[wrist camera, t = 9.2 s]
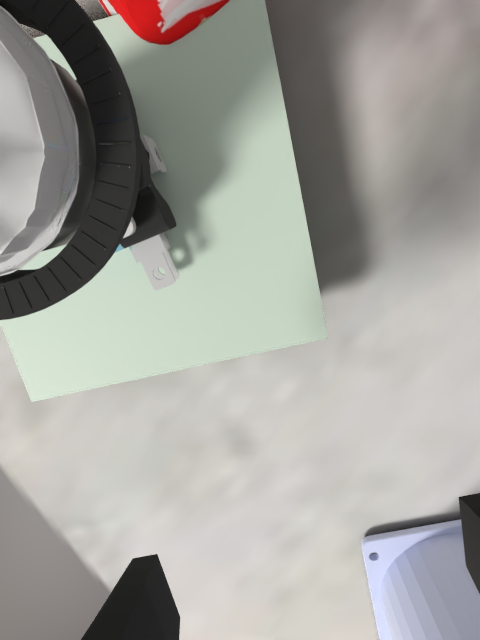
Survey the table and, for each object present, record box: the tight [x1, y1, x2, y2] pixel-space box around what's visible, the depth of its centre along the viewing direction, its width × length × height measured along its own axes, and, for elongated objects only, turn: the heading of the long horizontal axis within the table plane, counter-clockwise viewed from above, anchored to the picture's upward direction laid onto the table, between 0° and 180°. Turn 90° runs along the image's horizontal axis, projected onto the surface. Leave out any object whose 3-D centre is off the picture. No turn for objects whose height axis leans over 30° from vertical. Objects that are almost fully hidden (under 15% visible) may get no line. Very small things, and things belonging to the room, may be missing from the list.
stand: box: [0, 0, 328, 402], centre depth 17 cm, size 12×12×3 cm
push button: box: [0, 0, 179, 320], centre depth 10 cm, size 7×5×10 cm
